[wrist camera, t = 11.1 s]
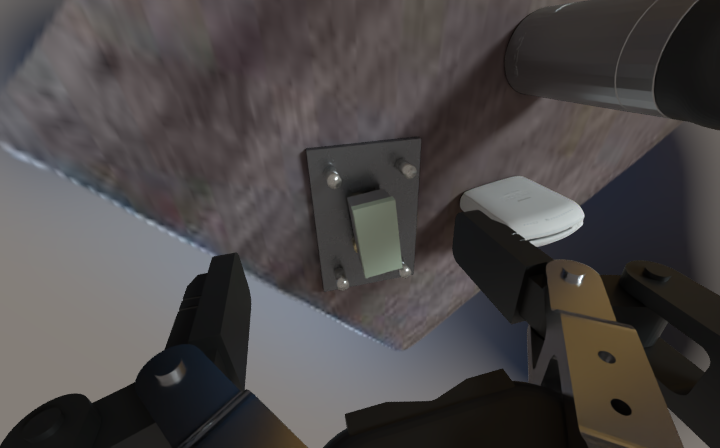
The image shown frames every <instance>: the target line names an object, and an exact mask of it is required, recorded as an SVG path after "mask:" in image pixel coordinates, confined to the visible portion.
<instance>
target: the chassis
mask: <svg viewBox="0 0 720 448" xmlns="http://www.w3.org/2000/svg"><path fill="white" fill-rule="evenodd" d="M420 153H421V138H420V137H410V138H400V139H391V140H381V141H372V142H362V143H353V144H343V145H334V146H324V147H315V148H306V156H307V164H308V172H309V179H310V187H311V195H312V203H313V211H314V219H315V227H316V235H317V242H318V250H319V258H320V266H321V274H322V282H323V289H324V292H326V291H331V290H336V289H339V290H342V291H343V290H346V289H348V287H352V286H357V285H362V284H367V283H372V282H377V281H382V280H387V279H392V278H398V277H402V278H408V277H409V276H410V275H413V274H414V258H415V241H416V223H417V206H418V188H419V171H420ZM380 189H385V190H386V192H387V193H388V194H389V195H390V196H393V198H394V199H395V202H396V211H397V221H398V230H399V240H400V250H401V259H402V268H400V269H397V270H393V271H390V272H386V273H383V274H379V275H376V276H372V277H369V278H365V276H364V273H363V268H362V266H361V263H360V261H359V258H358V253H357V248H356V243H355V237H354V232H353V227H352V222H351V217H350V212H349V206H348V201H347V197H351V196H355V195H359V194H363V193H367V192H371V191H376V190H380Z"/></svg>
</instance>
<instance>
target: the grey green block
mask: <svg viewBox="0 0 720 448" xmlns="http://www.w3.org/2000/svg"><path fill="white" fill-rule="evenodd" d="M347 201H348V206H349V212H350V217H351V222H352V227H353V232H354V237H355V243H356V248H357V253H358V258H359V261H360V263H361V266H362V268H363V273H364V276H365V278H369V277H372V276H376V275H379V274H383V273H386V272H390V271H393V270H397V269H400V268H402V259H401V250H400V240H399V230H398V221H397V211H396V202H395V199H394V198H393V196H390V195H389V194H388V193H387V192H386V190H385V189H380V190H376V191H371V192H367V193H363V194H359V195H355V196H351V197H347Z"/></svg>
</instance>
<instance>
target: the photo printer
mask: <svg viewBox="0 0 720 448" xmlns="http://www.w3.org/2000/svg"><path fill="white" fill-rule="evenodd" d="M460 207H461V209H462V210H463V211H464V212H466V211H472V210H480V211H481V212H483V213H484V214H485V215H487V216H488V217H489V218H491V219H492V220H495V221H498V222H500V223H503V224H505V225H507V226H509V227H510V228H511V229H513V230H514V231H515V232H517V234H519V235H521V236H522V237H524V238H525V240H528V241H529V242H530V243H532V244H533V245H534V246H536V247H538V246H542V245H546V244H549V243H552V242H555V241H558V240H560V239H562V238H565V237H567V236H568V235H570V234H572V233H573V232H575V231H576V230H577V229H579V228H580V227H581V226H582V225H583V218H584V213H583V211H582V209H581V208H580V206H579V205H578V204H577V203H576V202H574V201H572V200H570V199H568V198H566V197H564V196H562V195H560V194H558V193H556V192H554V191H552V190H550V189H548V188H546V187H544V186H542V185H540V184H537V183H535V182H533V181H531V180H529V179H527V178H525V177H522V176H515V177H510V178H506V179H502V180H499V181H495V182H492V183H489V184H486V185H483V186H479V187H476V188H473V189H471V190H468V191H466V192H464V194H463V195H462V197H461V199H460Z"/></svg>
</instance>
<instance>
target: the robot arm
mask: <svg viewBox="0 0 720 448" xmlns="http://www.w3.org/2000/svg"><path fill="white" fill-rule="evenodd" d="M505 73H506V77H507V80H508V82H509V83H510V85H511V87H512V88H513V89H514V90H516V91H517V92H519V93H521V94H527V95H533V96H538V97H544V98H549V99H555V100H561V101H567V102H573V103H579V104H585V105H590V106H596V107H602V108H608V109H614V110H620V111H626V112H632V113H639V114H645V115H651V116H657V117H663V118H669V119H676V120H682V121H688V122H692V123H695V124H698V125H700V126H703V127H707V128H711V129H715V130H720V0H588V1H581V2H574V3H568V4H562V5H556V6H550V7H545V8H541V9H538V10H536V11H534V12H533V13H531V14H530V15H528V16H527V17H526V18H525V19H524V20H523V21H522V22H521V23H520V24H519V26H518V27H517V28H516V30H515V32H514V33H513V35H512V37H511V39H510V42H509V44H508V47H507V51H506V55H505ZM452 250H453V255H454V258H455V260H456V262H457V263H458V264H459V266H460V267H461V268H462V269H463V270H464V271H465V272H466V274H467V275H468V276H469V277H470V278H471V279H472V280H473V281H474V283H475V284H476V285H477V286H478V287H479V288H480V289H481V291H482V292H483V293H484V294H485V295H486V296H487V297H488V298H489V300H490V301H491V302H492V303H493V304H494V305H495V306H496V308H497V309H498V310H499V311H500V312H501V313H502V314H503V316H504V317H505V318H506V319H507V320H508V321H509V322H510V323H511V324H514V323H518V322H522V321H527V322H528V324H529V326H528V329H527V347H528V373H529V381H528V383H527V382H519V381H512V380H511V379H510V378H509V376H508V375H507V374H506V372H505V371H504V370H503V369H499V370H496V371H492V372H489V373H485V374H482V375H478V376H475V377H471V378H468V379H466V380H464V381H463V382H461V383H460V384H458V385H457V386H455V387H454V388H452V389H451V390H449V391H448V392H446V393H445V394H443V395H441V396H440V397H438V398H437V399H435V400H432V401H415V402H385V403H382V404H378V405H375V406H371V407H368V408H365V409H361V410H357V411H354V412H350V413H347V414H345V419H346V425H347V428H346V429H345V430H343V431H342V432H340V433H339V434H337V435H336V436H335V437H334V438H333V439H331V440H330V441H329V442H328V443H327V444H326V445H325V446H324V447H323V448H684V447H683V444H682V442H681V439H680V437H679V434H678V432H677V430H676V427H675V424H674V422H673V420H672V417H671V415H670V413H669V410H668V408H669V409H670V410H671V411H672V412H673V413H674V414H675V415H676V416H677V417H678V418H679V419H680V420H682V421H683V422H684V423H685V424H686V425H687V426H688V427H689V428H690V429H691V430H692V431H693V432H694V433H695V434H696V435H697V436H698V437H699V438H700V439H701V440H702V441H703V442H705V443H706V444H707V445H708V446H709V447H710V448H720V296H719V295H718V294H716V293H714V292H712V291H710V290H709V289H707V288H705V287H704V286H702V285H700V284H698V283H696V282H695V281H693V280H691V279H690V278H688V277H686V276H685V275H683V274H681V273H679V272H677V271H676V270H674V269H672V268H670V267H667V266H664V265H662V264H658V263H654V262H650V261H641V260H640V261H638V260H637V261H631V262H629V263H627V264H626V266H625V268H624V270H623V273H622V275H599V274H598V273H597V272H596V271H595V270H593V269H592V268H590V267H589V266H586V265H584V264H582V263H579V262H576V261H571V260H562V259H560V260H553V259H552V258H551V257H549V256H548V255H547V254H545V253H544V252H543V251H541V250H540V249H538V248H537V247H536V246H534V245H533V244H532V243H530V242H529V241H528V240H525V238H524V237H522V236H521V235H519V234H517V232H515V231H514V230H513V229H511V228H510V227H509V226H507V225H505V224H503V223H500V222H498V221H495V220H492V219H491V218H489V217H488V216H487V215H485V214H484V213H483V212H481V211H480V210H472V211H466V212H461V213H458V214H457V216H456V219H455V228H454V237H453V247H452ZM250 313H251V296H250V290H249V287H248V283H247V280H246V277H245V274H244V270H243V267H242V264H241V261H240V258H239V255H238V254H237V253H231V254H225V255H220V256H214V257H212V260H211V263H210V267H209V270H208V273H205V274H200V275H197V277H195V279H194V280H193V281H192V282H191V283H190V284H189V285H188V286H187V288H186V291H185V294H184V297H183V301H182V303H181V305H180V308H179V312H178V314H177V316H176V319H175V322H174V325H173V328H172V330H171V333H170V336H169V339H168V341H167V344H166V347H165V350H163V351H162V352H160V353H158V354H157V355H155V356H154V357H153V358H151V359H150V360H149V361H148V362H147V363H146V364H145V365H144V366H143V368H142V369H141V370H140V372H139V373H138V375H137V378H136V380H135V382H134V383H133V384H130V385H129V386H127V387H125V388H123V389H121V390H119V391H116V392H114V393H112V394H110V395H108V396H106V397H104V398H102V399H100V400H98V401H96V402H93V403H91V402H90V400H89V399H88V398H87V397H86V396H84V395H82V394H68V395H64V396H60V397H58V398H55V399H53V400H51V401H49V402H47V403H45V404H43V405H41V406H40V407H38V408H37V409H35V410H34V411H32V412H31V413H30V414H28V415H27V416H26V417H24V419H22V420H21V421H20V422H19V423H18V424H17V425H16V426H15V427H14V428H13V429H12V431H10V432H9V433H8V435H7V436H6V438H5V439H4V440H3V442H2V444H1V445H0V448H308V447H307V446H306V445H305V444H304V443H303V442H302V441H301V440H300V439H299V438H298V437H297V436H296V435H295V434H294V433H293V432H292V431H291V430H290V429H288V427H287V426H286V425H285V424H284V423H283V422H282V421H281V420H280V419H279V418H278V417H277V416H276V415H275V414H274V413H273V412H272V411H270V409H268V407H266V406H265V405H264V404H263V403H262V402H261V401H260V400H259V399H258V398H257V397H256V396H255V395H254V394H253V393H252V392H250V391H249V390H245V378H246V377H245V376H246V365H247V352H248V340H249V327H250ZM668 322H669V323H670V324H672V325H673V326H674V327H676V328H677V329H678V330H680V331H681V332H683V333H684V334H685V335H687V336H688V337H690V338H691V339H692V340H694V341H695V342H696V343H698V344H699V345H700V346H702V347H703V348H704V349H705V351H706V352H707V353H708V355H709V358H710V361H711V362H710V366H709V368H708V369H707V370H706V372H703V371H702V370H701V369H699V368H698V367H697V366H696V365H695V364H693V363H692V362H691V361H689V360H688V359H687V358H686V357H684V356H683V355H682V354H680V353H679V352H678V351H677V350H675V349H674V348H673V347H672V346H670V345H669V344H668V343H667V342H665V341H664V340H663V339H661V338H660V337H659V336H660V335H661V332H662V331H663V330H664V328H665V326H666V325H667V323H668ZM244 390H245V391H244Z"/></svg>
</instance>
